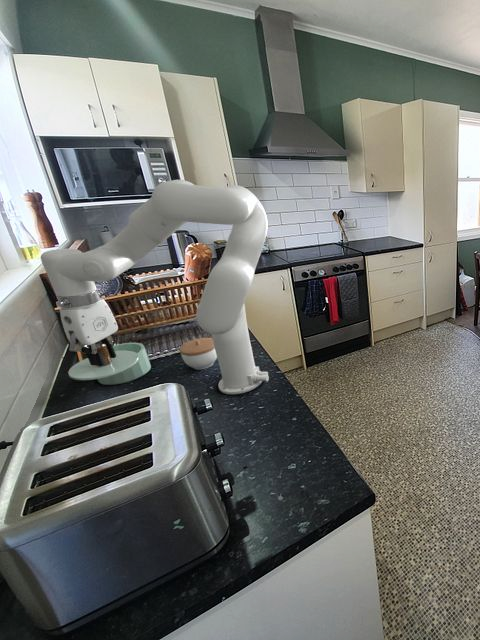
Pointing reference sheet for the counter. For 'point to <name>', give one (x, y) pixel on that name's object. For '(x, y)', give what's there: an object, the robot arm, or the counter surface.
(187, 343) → the trinket box
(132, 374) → the bowl
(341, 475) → the counter surface
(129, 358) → the bowl lid
